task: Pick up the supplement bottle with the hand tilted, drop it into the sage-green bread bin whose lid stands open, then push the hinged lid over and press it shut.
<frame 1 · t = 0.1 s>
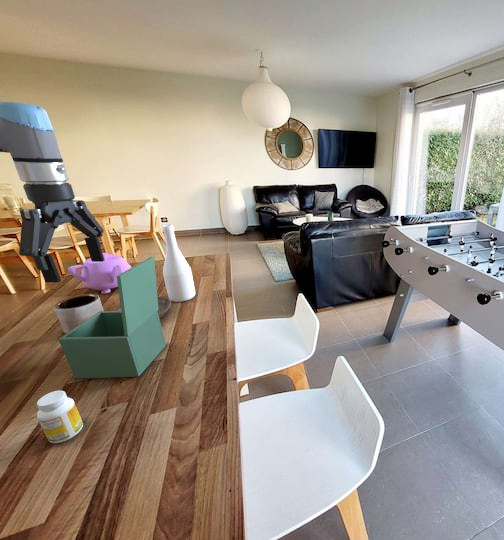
hand: (77, 270, 72), 27 cm above the breakfast bar, tool pointing down, fingers open, 13 cm apart
planter: (86, 327, 96), on the breakfast bar
bread bin: (124, 360, 81), on the breakfast bar
supplement bottle: (67, 433, 61), on the breakfast bar
plant saucer: (144, 315, 104), on the breakfast bar
wine bottle: (182, 297, 117), on the breakfast bar
teapot: (110, 289, 121), on the breakfast bar
bin lid: (140, 294, 75), point 21 cm above the breakfast bar, hinge at 98.0°
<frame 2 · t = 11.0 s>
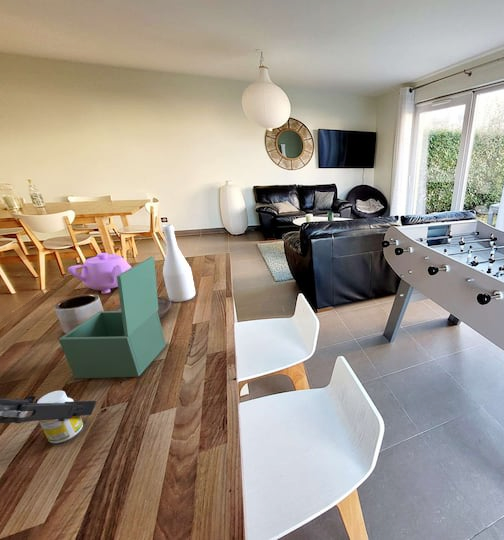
hand: (78, 406, 63), 3 cm above the breakfast bar, tool tilted 45°, fingers closed on supplement bottle, 5 cm apart
supplement bottle: (67, 433, 61), on the breakfast bar, touching gripper
everything else where it was.
when the fingers open (14 cm above the breakfast bar, at t = 19.7 s): supplement bottle drops 9 cm, resting on bread bin.
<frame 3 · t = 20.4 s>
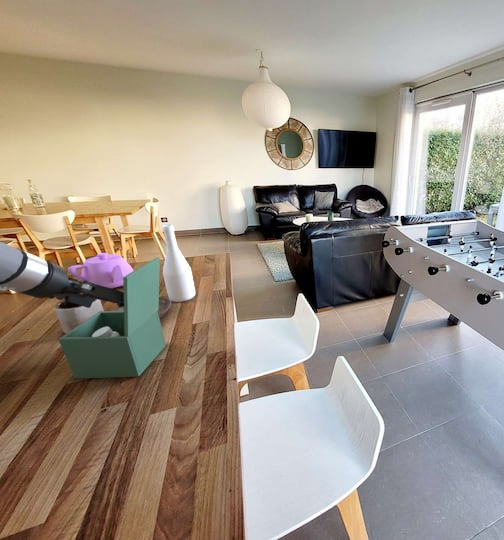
hand: (115, 304, 77), 17 cm above the breakfast bar, tool tilted 45°, fingers open, 13 cm apart
supplement bottle: (123, 356, 81), point 1 cm above the breakfast bar, touching bread bin
bin lid: (143, 295, 75), point 21 cm above the breakfast bar, hinge at 102.8°
everything else where it was.
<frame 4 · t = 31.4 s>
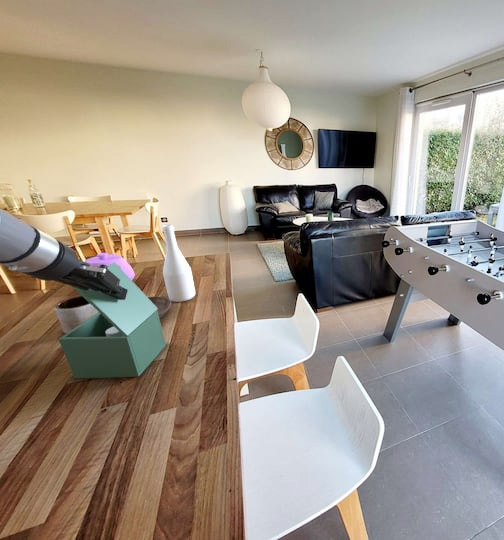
hand: (123, 294, 74), 21 cm above the breakfast bar, tool tilted 45°, fingers closed
bin lid: (119, 298, 74), point 20 cm above the breakfast bar, hinge at 60.9°, touching gripper
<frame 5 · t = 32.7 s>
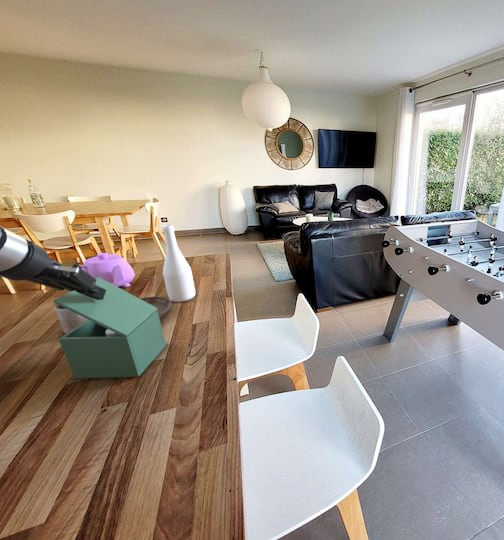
hand: (101, 294, 73), 21 cm above the breakfast bar, tool tilted 45°, fingers closed
bin lid: (111, 305, 75), point 18 cm above the breakfast bar, hinge at 37.1°
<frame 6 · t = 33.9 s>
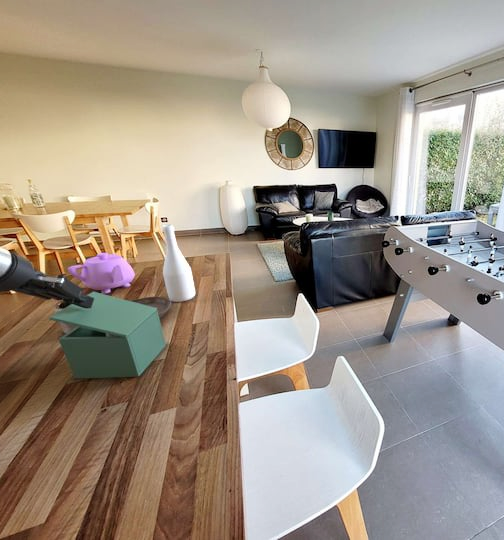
hand: (89, 303, 74), 19 cm above the breakfast bar, tool tilted 45°, fingers closed
bin lid: (108, 313, 76), point 15 cm above the breakfast bar, hinge at 19.3°, touching gripper
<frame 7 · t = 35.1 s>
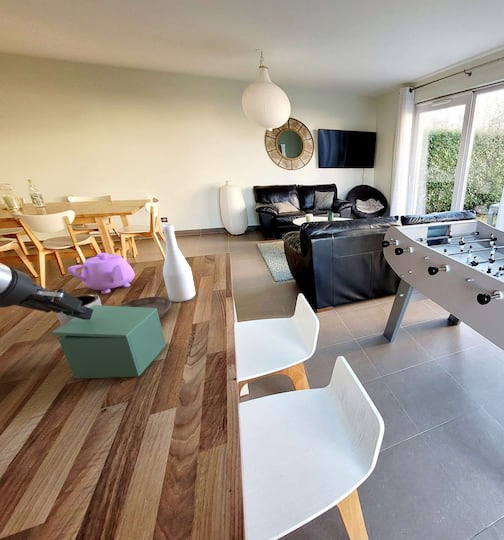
hand: (88, 314, 75), 15 cm above the breakfast bar, tool tilted 45°, fingers closed
bin lid: (109, 320, 76), point 13 cm above the breakfast bar, hinge at 4.1°
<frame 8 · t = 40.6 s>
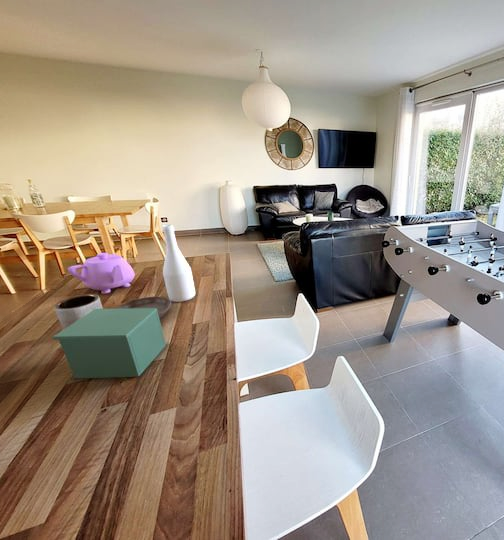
bin lid: (109, 322, 77), point 13 cm above the breakfast bar, hinge at -0.2°, touching bread bin
at the end: supplement bottle inside the target area in the bread bin (0.1 cm from its centre), point 0.6 cm above the bread bin's base; bin lid at +0° (first picture: +98°) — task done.
